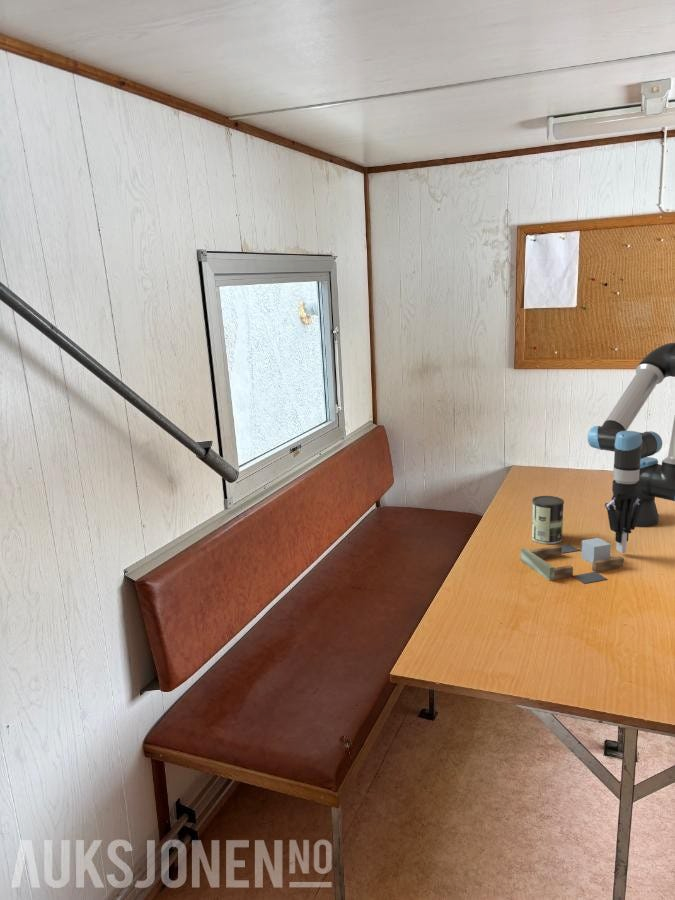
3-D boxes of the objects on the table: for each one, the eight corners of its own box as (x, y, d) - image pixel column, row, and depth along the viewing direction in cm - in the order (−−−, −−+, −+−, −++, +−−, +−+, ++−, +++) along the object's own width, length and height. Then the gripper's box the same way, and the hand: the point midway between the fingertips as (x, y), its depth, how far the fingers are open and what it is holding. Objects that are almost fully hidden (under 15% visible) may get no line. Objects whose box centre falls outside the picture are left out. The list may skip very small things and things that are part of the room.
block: (597, 555, 216) (598, 537, 215) (609, 562, 210) (610, 544, 209) (581, 557, 214) (582, 540, 213) (593, 564, 209) (594, 547, 207)
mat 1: (569, 544, 225) (569, 544, 225) (579, 550, 220) (579, 550, 220) (548, 548, 223) (548, 547, 223) (558, 554, 218) (558, 553, 218)
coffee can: (560, 534, 235) (562, 495, 231) (563, 545, 225) (565, 505, 222) (530, 532, 237) (531, 495, 234) (532, 543, 227) (533, 504, 224)
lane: (590, 548, 221) (590, 537, 220) (623, 567, 206) (623, 555, 205) (520, 560, 214) (520, 548, 213) (549, 580, 199) (549, 568, 198)
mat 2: (595, 572, 203) (595, 571, 203) (607, 579, 198) (607, 578, 198) (572, 576, 201) (572, 575, 201) (584, 583, 196) (584, 583, 196)
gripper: (634, 475, 214) (630, 544, 220) (600, 480, 211) (596, 549, 216) (651, 481, 207) (646, 552, 213) (616, 486, 204) (611, 558, 209)
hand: (621, 551), depth 215 cm, fingers closed
